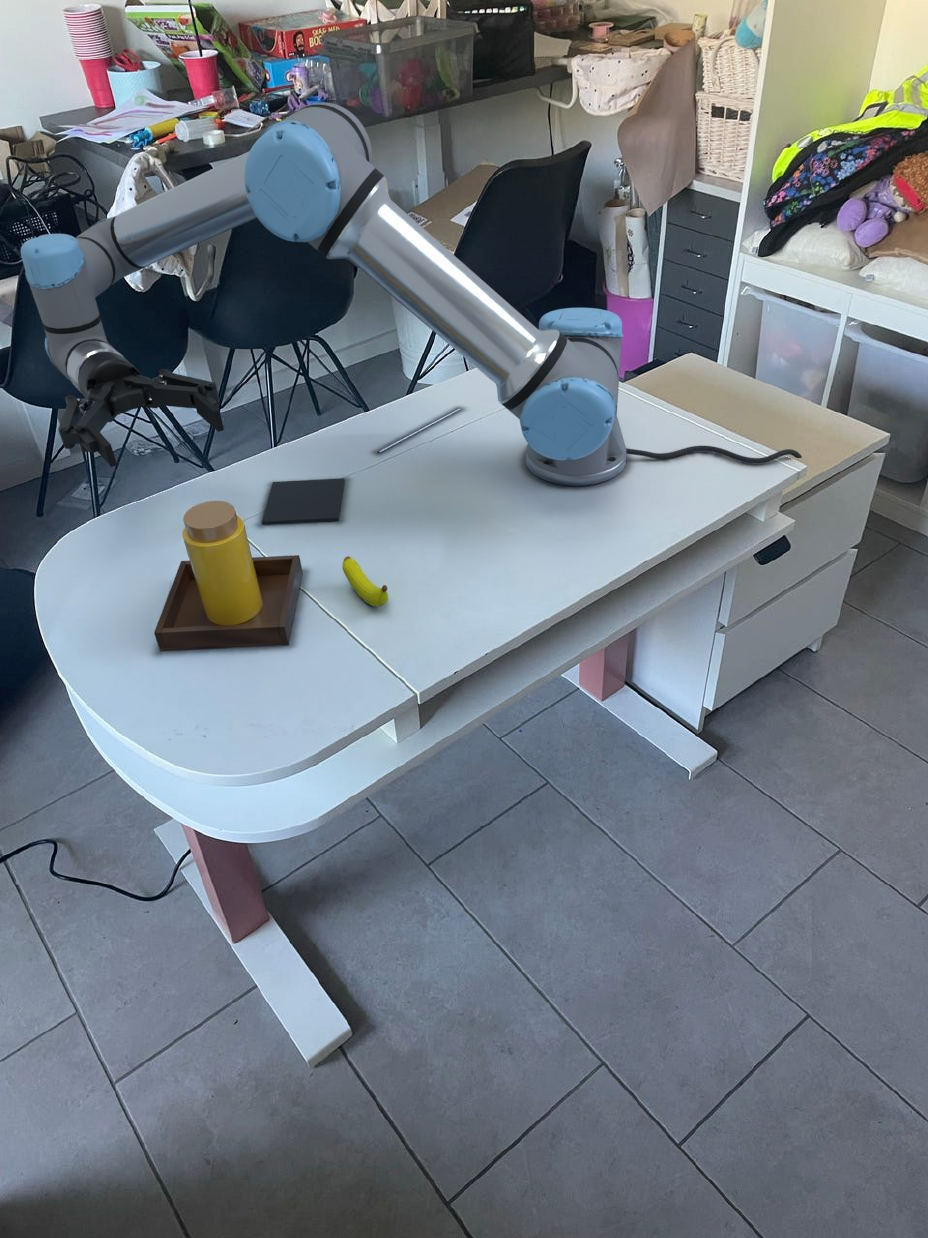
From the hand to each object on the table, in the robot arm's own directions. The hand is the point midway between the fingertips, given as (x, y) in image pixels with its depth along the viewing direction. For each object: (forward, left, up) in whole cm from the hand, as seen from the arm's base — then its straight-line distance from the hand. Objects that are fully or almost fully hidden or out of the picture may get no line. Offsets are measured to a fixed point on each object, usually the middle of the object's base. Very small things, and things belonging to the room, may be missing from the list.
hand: (166, 438), depth 109 cm
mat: (-11, -17, -20) cm, 29 cm away
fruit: (-22, +7, -21) cm, 31 cm away
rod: (-28, -37, -21) cm, 51 cm away
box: (-5, +8, -20) cm, 23 cm away
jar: (-5, +8, -20) cm, 22 cm away
